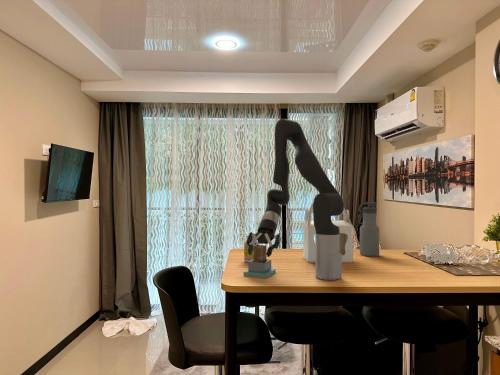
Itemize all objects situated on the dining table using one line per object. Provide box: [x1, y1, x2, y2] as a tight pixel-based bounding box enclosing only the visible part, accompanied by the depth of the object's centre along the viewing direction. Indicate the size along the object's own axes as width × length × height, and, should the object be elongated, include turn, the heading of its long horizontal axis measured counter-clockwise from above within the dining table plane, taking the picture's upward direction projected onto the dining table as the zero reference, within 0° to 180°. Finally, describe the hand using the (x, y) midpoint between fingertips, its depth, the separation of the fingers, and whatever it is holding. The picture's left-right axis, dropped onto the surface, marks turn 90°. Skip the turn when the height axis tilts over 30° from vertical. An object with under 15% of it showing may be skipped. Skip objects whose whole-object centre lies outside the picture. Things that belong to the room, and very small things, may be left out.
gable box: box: [302, 202, 354, 263], centre depth 166 cm, size 22×13×28 cm, turn 91°
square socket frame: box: [247, 258, 272, 273], centre depth 137 cm, size 7×7×4 cm
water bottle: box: [357, 201, 380, 257], centre depth 178 cm, size 10×10×28 cm
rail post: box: [254, 244, 267, 263], centre depth 137 cm, size 4×4×10 cm
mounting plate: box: [243, 268, 276, 279], centre depth 137 cm, size 10×10×2 cm
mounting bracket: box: [424, 243, 460, 263], centre depth 158 cm, size 12×6×11 cm, turn 82°
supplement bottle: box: [243, 233, 255, 263], centre depth 161 cm, size 7×7×13 cm
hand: (258, 254), depth 135 cm, fingers open, 7 cm apart
